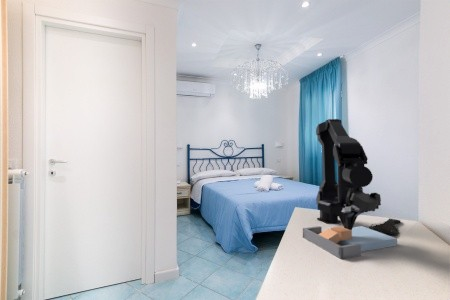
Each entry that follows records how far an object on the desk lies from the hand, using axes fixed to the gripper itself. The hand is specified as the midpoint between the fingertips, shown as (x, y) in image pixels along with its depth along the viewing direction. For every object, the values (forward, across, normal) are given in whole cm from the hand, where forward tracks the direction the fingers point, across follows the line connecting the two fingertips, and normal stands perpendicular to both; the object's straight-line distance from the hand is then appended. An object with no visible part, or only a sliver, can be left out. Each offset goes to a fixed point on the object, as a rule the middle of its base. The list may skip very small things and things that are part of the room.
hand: (348, 232), depth 71 cm
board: (+3, +4, 0) cm, 5 cm away
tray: (+3, -7, 0) cm, 8 cm away
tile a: (+1, -3, 0) cm, 3 cm away
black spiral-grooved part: (+4, +26, +7) cm, 27 cm away
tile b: (+2, -7, 0) cm, 7 cm away
